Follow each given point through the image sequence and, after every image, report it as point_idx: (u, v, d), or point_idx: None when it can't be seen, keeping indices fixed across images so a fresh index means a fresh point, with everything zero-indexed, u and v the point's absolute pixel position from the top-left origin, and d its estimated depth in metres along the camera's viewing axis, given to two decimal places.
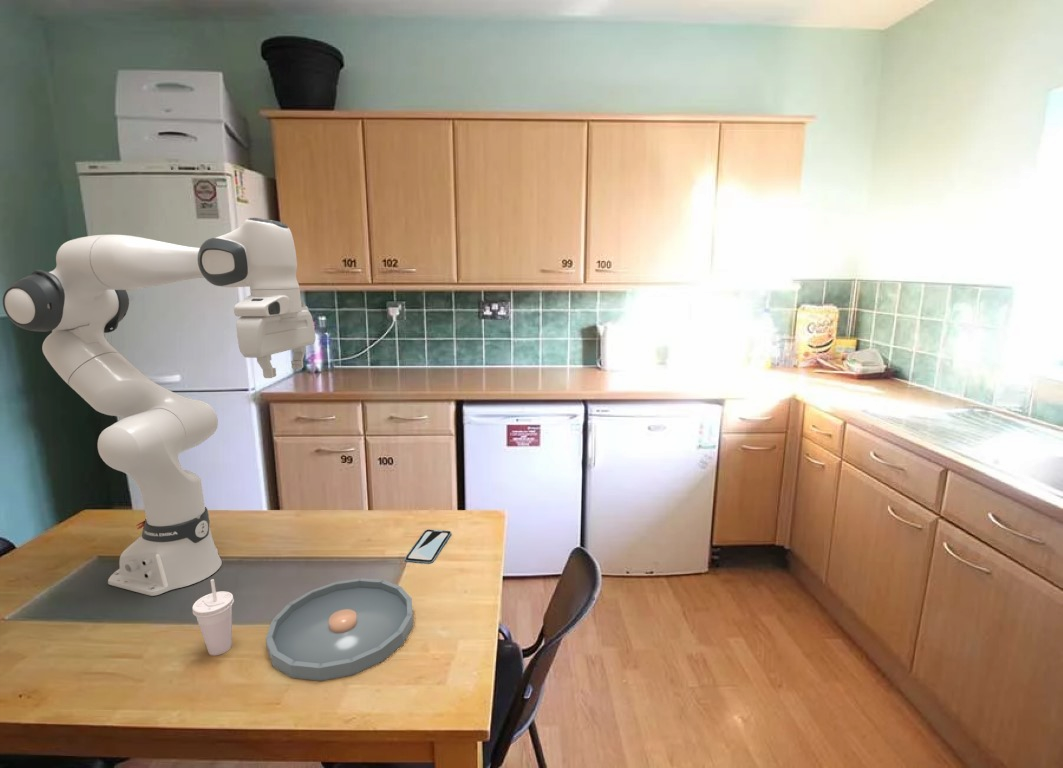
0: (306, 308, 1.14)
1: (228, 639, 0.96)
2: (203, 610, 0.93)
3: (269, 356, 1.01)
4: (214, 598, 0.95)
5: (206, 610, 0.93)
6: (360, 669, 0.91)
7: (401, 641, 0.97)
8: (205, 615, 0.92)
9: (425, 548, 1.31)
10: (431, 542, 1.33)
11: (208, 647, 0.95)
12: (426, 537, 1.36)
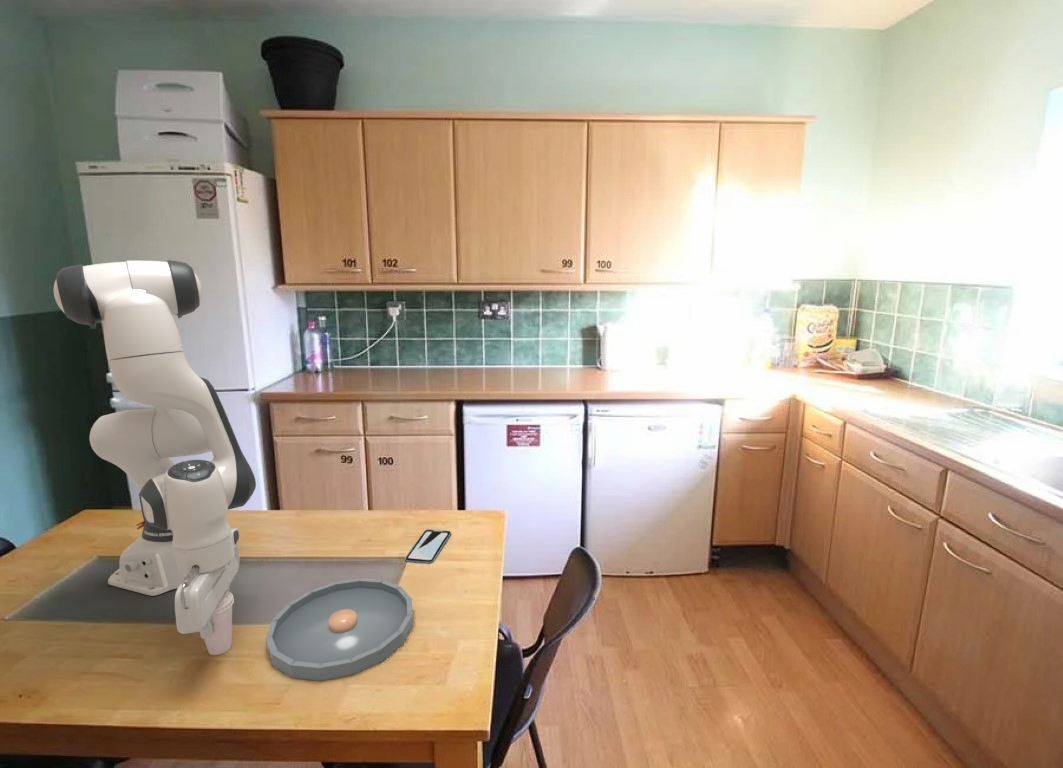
0: None
1: (228, 639, 0.96)
2: None
3: None
4: None
5: None
6: (360, 669, 0.91)
7: (401, 641, 0.97)
8: None
9: (425, 548, 1.31)
10: (431, 542, 1.33)
11: (208, 647, 0.95)
12: (426, 537, 1.36)
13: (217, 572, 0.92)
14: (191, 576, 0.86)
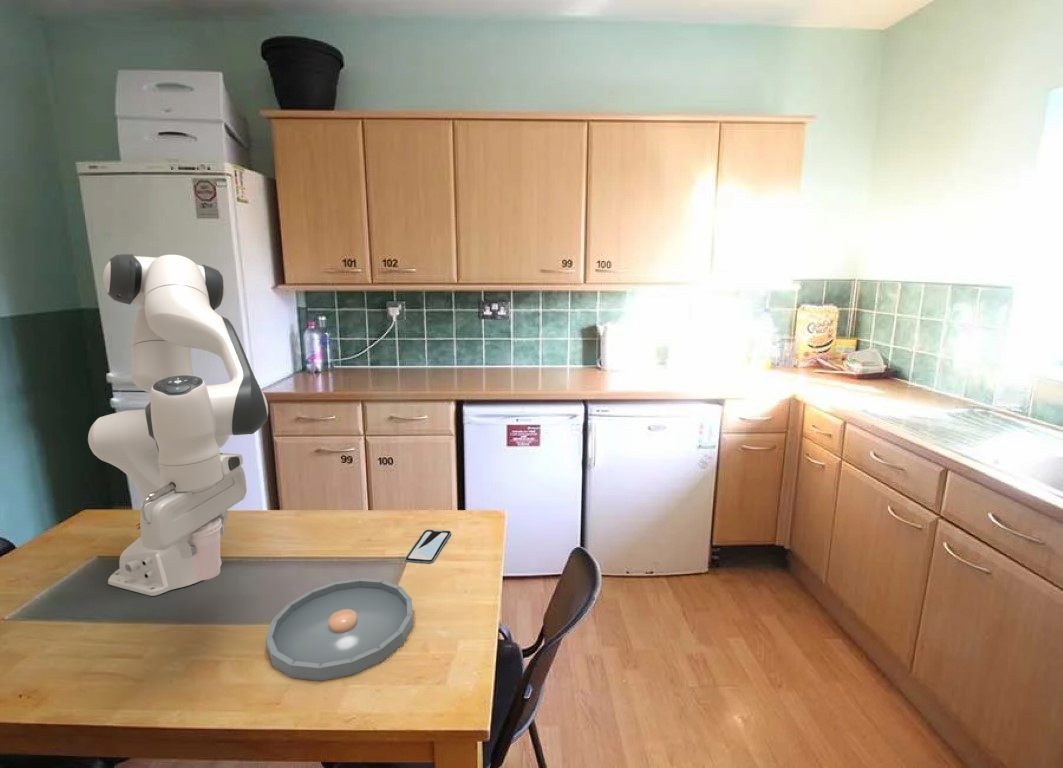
0: None
1: (212, 567, 0.93)
2: None
3: None
4: None
5: None
6: (360, 669, 0.91)
7: (401, 641, 0.97)
8: None
9: (425, 548, 1.31)
10: (431, 542, 1.33)
11: None
12: (426, 537, 1.36)
13: (197, 494, 0.88)
14: (160, 492, 0.83)
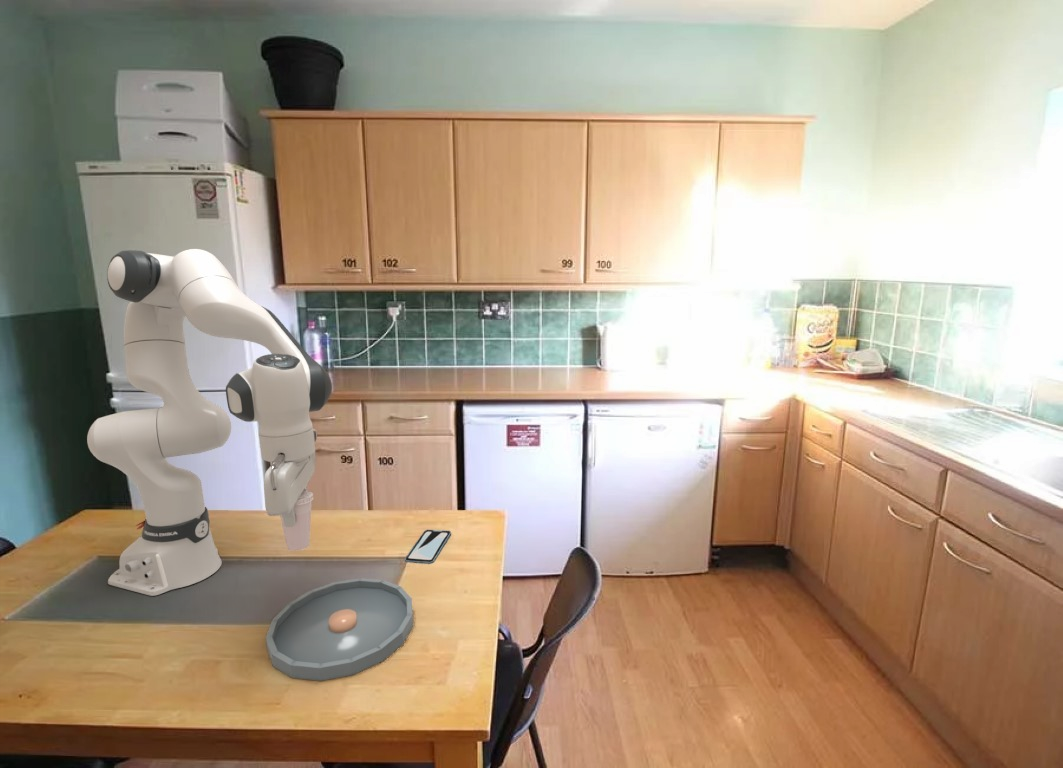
0: None
1: (306, 536, 0.98)
2: None
3: None
4: None
5: None
6: (360, 669, 0.91)
7: (401, 641, 0.97)
8: None
9: (425, 548, 1.31)
10: (431, 542, 1.33)
11: (288, 541, 0.97)
12: (426, 537, 1.36)
13: (300, 463, 0.94)
14: (279, 460, 0.89)
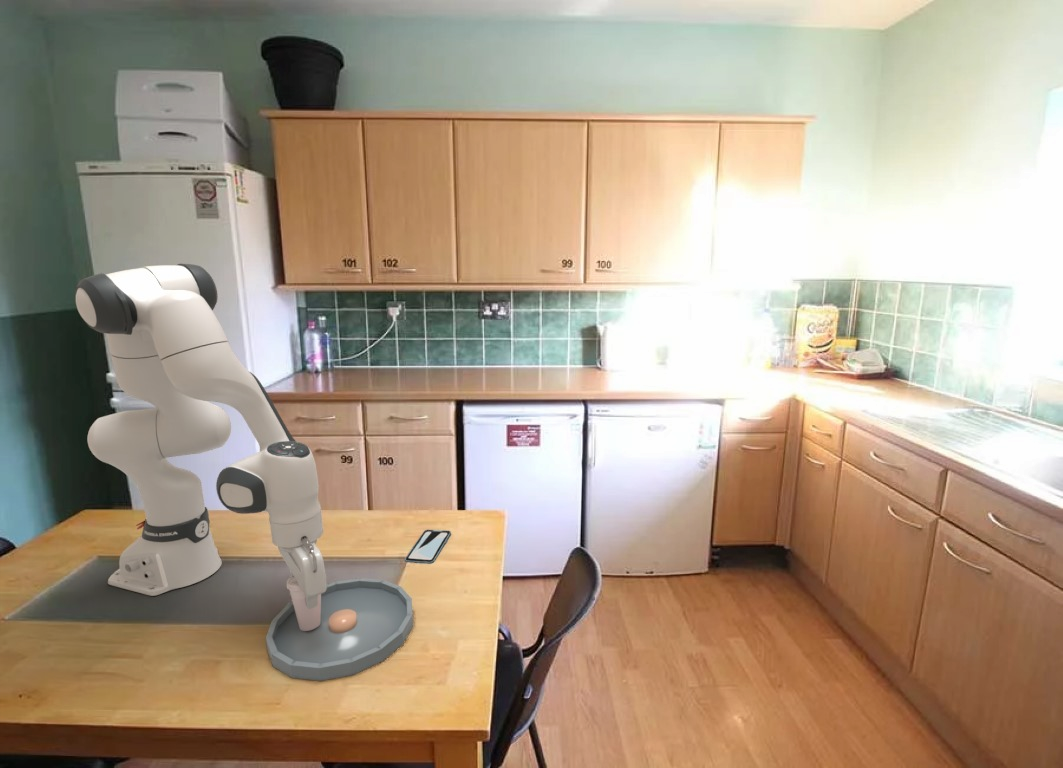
0: (310, 557, 0.91)
1: (320, 613, 1.02)
2: None
3: None
4: None
5: None
6: (360, 669, 0.91)
7: (401, 641, 0.97)
8: None
9: (425, 548, 1.31)
10: (431, 542, 1.33)
11: (304, 623, 0.99)
12: (426, 537, 1.36)
13: (315, 542, 0.99)
14: (310, 544, 0.94)
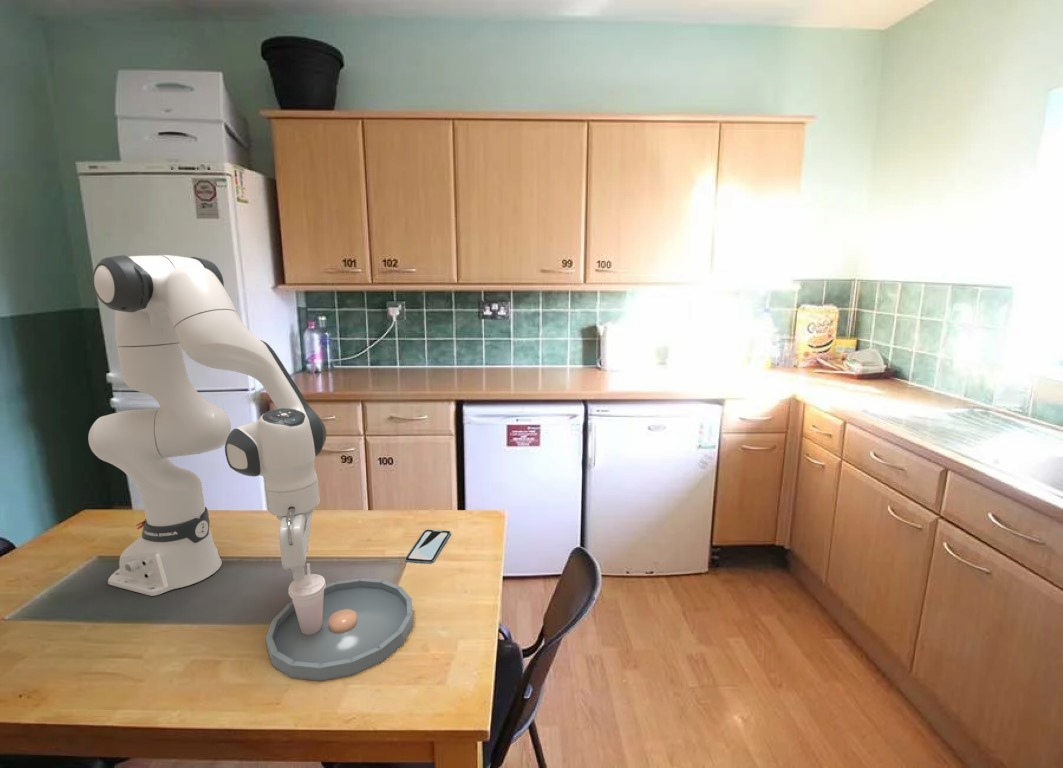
0: None
1: None
2: (305, 593, 0.96)
3: None
4: (309, 581, 0.98)
5: (307, 592, 0.96)
6: (360, 669, 0.91)
7: (401, 641, 0.97)
8: (308, 597, 0.96)
9: (425, 548, 1.31)
10: (431, 542, 1.33)
11: (305, 627, 0.98)
12: (426, 537, 1.36)
13: (308, 514, 0.97)
14: (292, 515, 0.91)
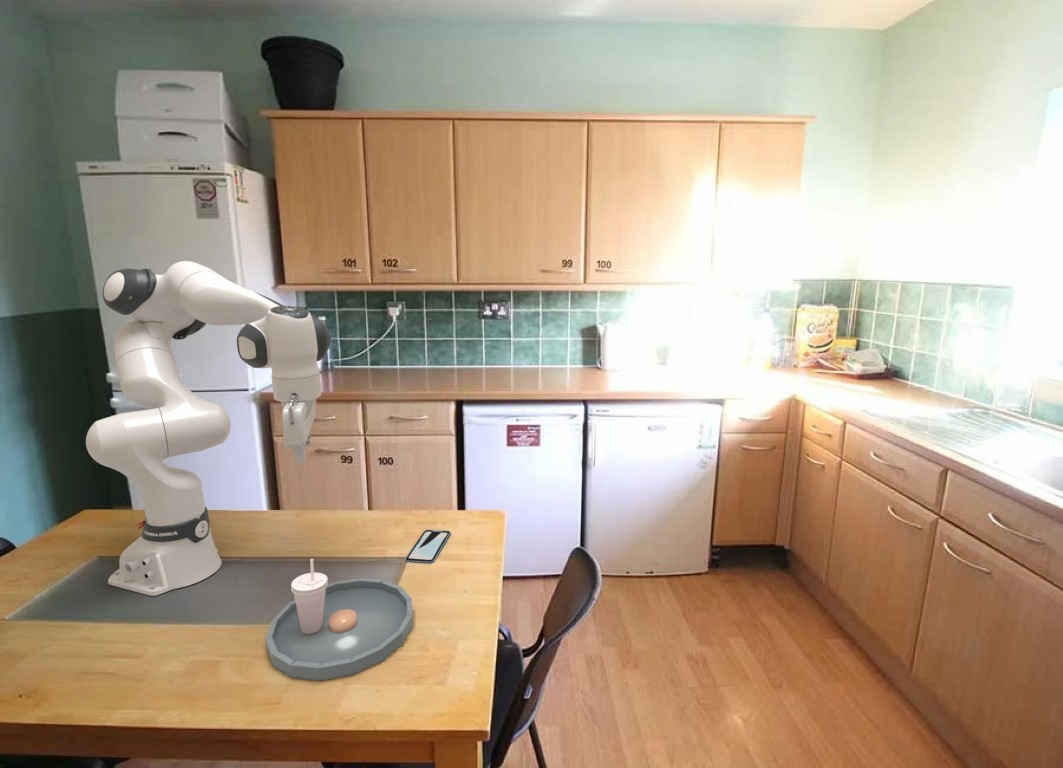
0: None
1: (322, 617, 1.01)
2: (307, 588, 0.97)
3: None
4: (312, 577, 0.99)
5: (310, 588, 0.97)
6: (360, 669, 0.91)
7: (401, 641, 0.97)
8: (310, 592, 0.97)
9: (425, 548, 1.31)
10: (431, 542, 1.33)
11: (305, 626, 0.99)
12: (426, 537, 1.36)
13: (309, 404, 1.06)
14: (294, 399, 1.00)
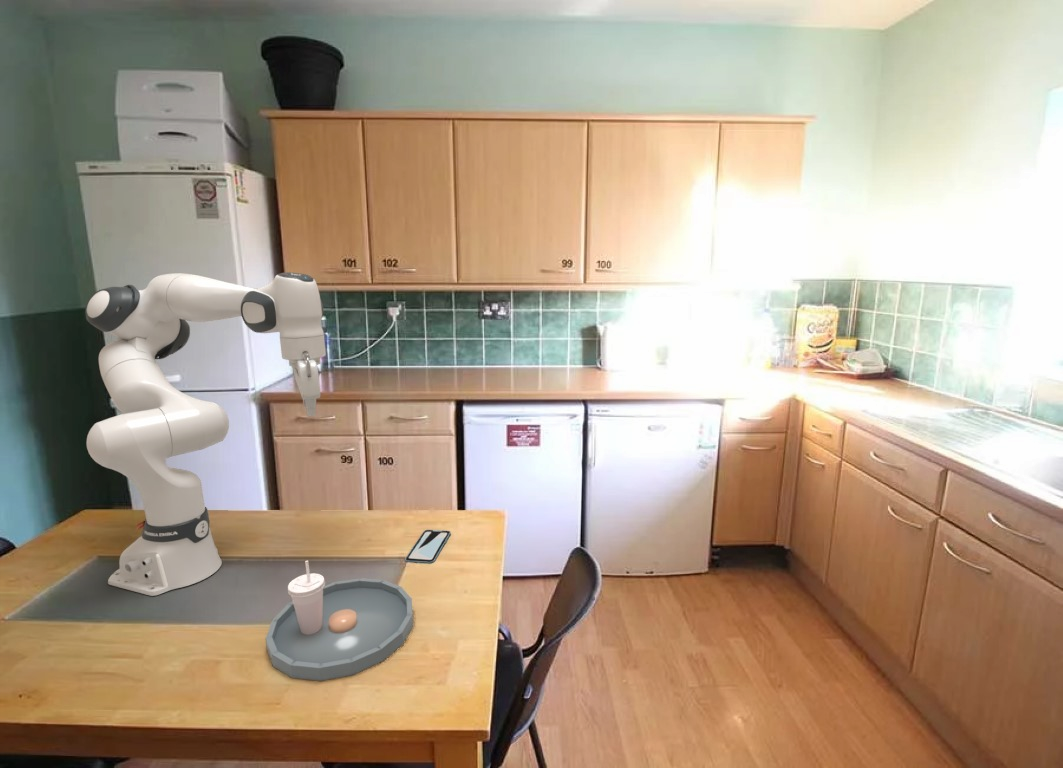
0: (305, 362, 1.07)
1: (321, 617, 1.01)
2: (303, 590, 0.96)
3: None
4: (308, 579, 0.98)
5: (306, 589, 0.97)
6: (360, 669, 0.91)
7: (401, 641, 0.97)
8: (307, 594, 0.96)
9: (425, 548, 1.31)
10: (431, 542, 1.33)
11: (305, 627, 0.99)
12: (426, 537, 1.36)
13: (317, 363, 1.15)
14: None
